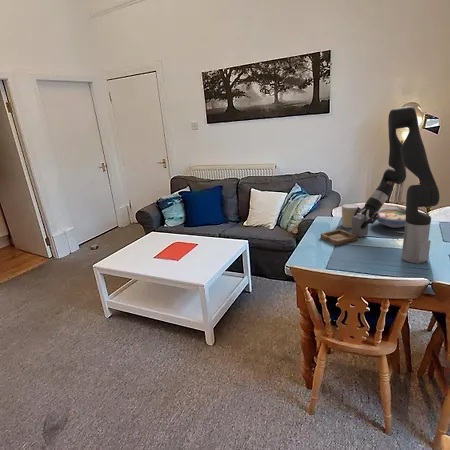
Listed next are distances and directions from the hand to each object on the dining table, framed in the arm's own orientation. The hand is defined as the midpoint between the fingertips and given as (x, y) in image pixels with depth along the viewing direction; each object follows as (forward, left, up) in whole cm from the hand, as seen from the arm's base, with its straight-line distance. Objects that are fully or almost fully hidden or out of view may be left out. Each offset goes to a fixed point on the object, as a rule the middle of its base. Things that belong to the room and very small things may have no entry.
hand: (357, 226), depth 168 cm
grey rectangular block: (0, -2, -5) cm, 5 cm away
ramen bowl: (+1, -28, -6) cm, 28 cm away
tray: (+2, +10, -6) cm, 12 cm away
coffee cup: (+15, -9, -6) cm, 18 cm away
